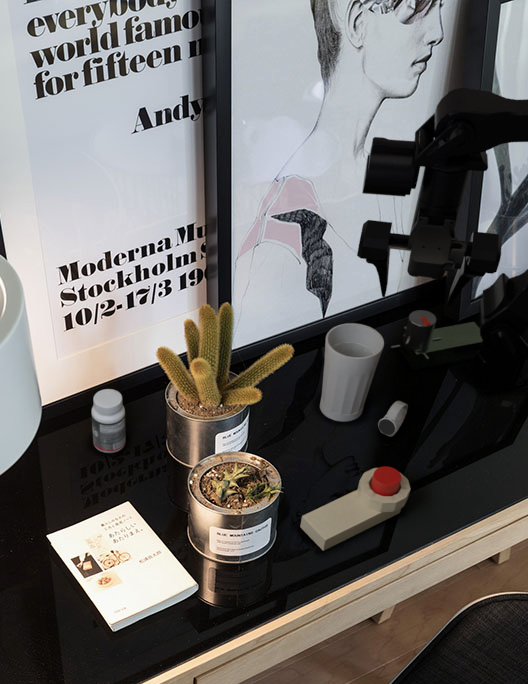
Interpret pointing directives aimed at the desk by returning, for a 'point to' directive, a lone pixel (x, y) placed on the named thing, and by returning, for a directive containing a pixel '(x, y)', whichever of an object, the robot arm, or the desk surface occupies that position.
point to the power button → (386, 481)
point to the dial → (419, 330)
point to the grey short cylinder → (396, 414)
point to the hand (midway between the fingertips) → (416, 299)
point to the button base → (353, 512)
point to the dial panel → (445, 346)
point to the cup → (349, 369)
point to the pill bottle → (108, 421)
